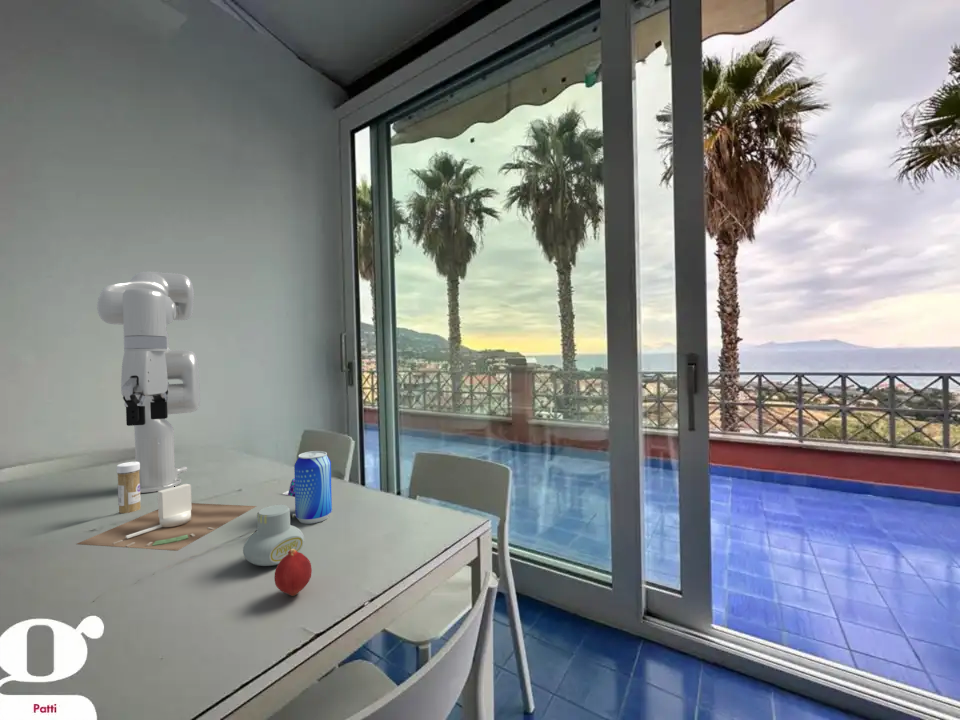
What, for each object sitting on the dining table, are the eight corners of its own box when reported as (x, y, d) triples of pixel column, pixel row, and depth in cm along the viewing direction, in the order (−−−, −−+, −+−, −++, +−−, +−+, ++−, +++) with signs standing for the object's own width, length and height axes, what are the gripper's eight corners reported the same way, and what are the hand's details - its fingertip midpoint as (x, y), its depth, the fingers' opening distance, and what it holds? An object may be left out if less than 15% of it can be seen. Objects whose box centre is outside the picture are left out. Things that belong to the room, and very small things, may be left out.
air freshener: (259, 577, 77) (258, 523, 77) (235, 565, 81) (234, 514, 81) (311, 552, 86) (310, 504, 86) (287, 543, 90) (286, 497, 90)
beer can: (339, 514, 106) (337, 451, 105) (313, 527, 98) (311, 460, 98) (314, 509, 109) (313, 448, 109) (287, 521, 102) (286, 456, 101)
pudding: (280, 507, 112) (279, 487, 112) (279, 493, 123) (278, 475, 123) (327, 499, 118) (326, 480, 118) (322, 487, 128) (322, 470, 128)
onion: (282, 586, 74) (281, 541, 74) (316, 584, 74) (315, 539, 74) (269, 606, 68) (268, 557, 68) (305, 604, 69) (304, 555, 68)
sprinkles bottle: (140, 516, 106) (138, 463, 106) (116, 520, 103) (114, 466, 103) (142, 510, 110) (140, 460, 109) (119, 514, 107) (118, 462, 107)
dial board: (174, 507, 111) (174, 501, 111) (256, 511, 108) (256, 505, 108) (76, 550, 88) (75, 543, 88) (177, 557, 84) (177, 549, 84)
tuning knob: (182, 514, 102) (181, 482, 102) (196, 519, 99) (195, 486, 99) (119, 535, 91) (118, 499, 91) (133, 541, 88) (132, 503, 88)
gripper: (146, 346, 100) (149, 417, 101) (101, 344, 84) (103, 429, 84) (182, 346, 102) (184, 415, 102) (144, 343, 85) (147, 426, 86)
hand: (148, 421), depth 93 cm, fingers open, 9 cm apart
